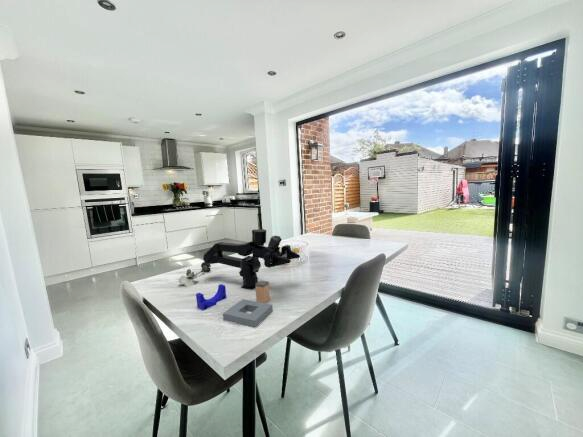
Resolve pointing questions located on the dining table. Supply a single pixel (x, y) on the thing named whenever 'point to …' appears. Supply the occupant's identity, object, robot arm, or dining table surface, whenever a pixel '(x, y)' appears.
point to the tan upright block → (262, 291)
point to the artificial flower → (193, 275)
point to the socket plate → (248, 319)
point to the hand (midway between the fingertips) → (295, 258)
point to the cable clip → (208, 303)
